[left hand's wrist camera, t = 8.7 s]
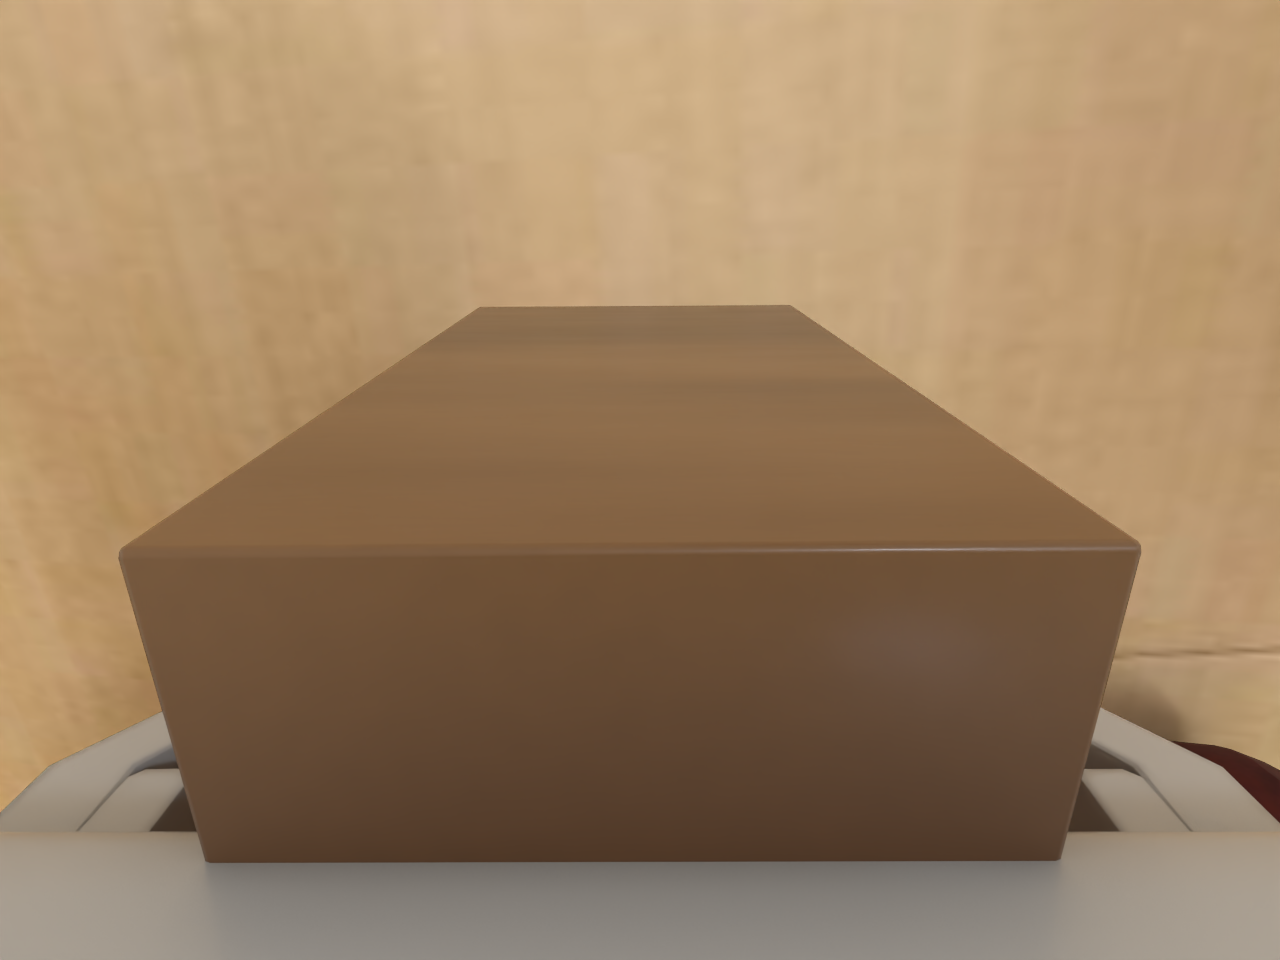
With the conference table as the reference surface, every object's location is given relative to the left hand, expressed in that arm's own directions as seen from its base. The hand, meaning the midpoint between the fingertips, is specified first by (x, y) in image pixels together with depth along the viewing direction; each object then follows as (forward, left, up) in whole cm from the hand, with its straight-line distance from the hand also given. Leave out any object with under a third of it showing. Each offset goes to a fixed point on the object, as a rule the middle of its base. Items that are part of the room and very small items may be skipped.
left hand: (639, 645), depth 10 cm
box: (-9, +5, -5) cm, 11 cm away
